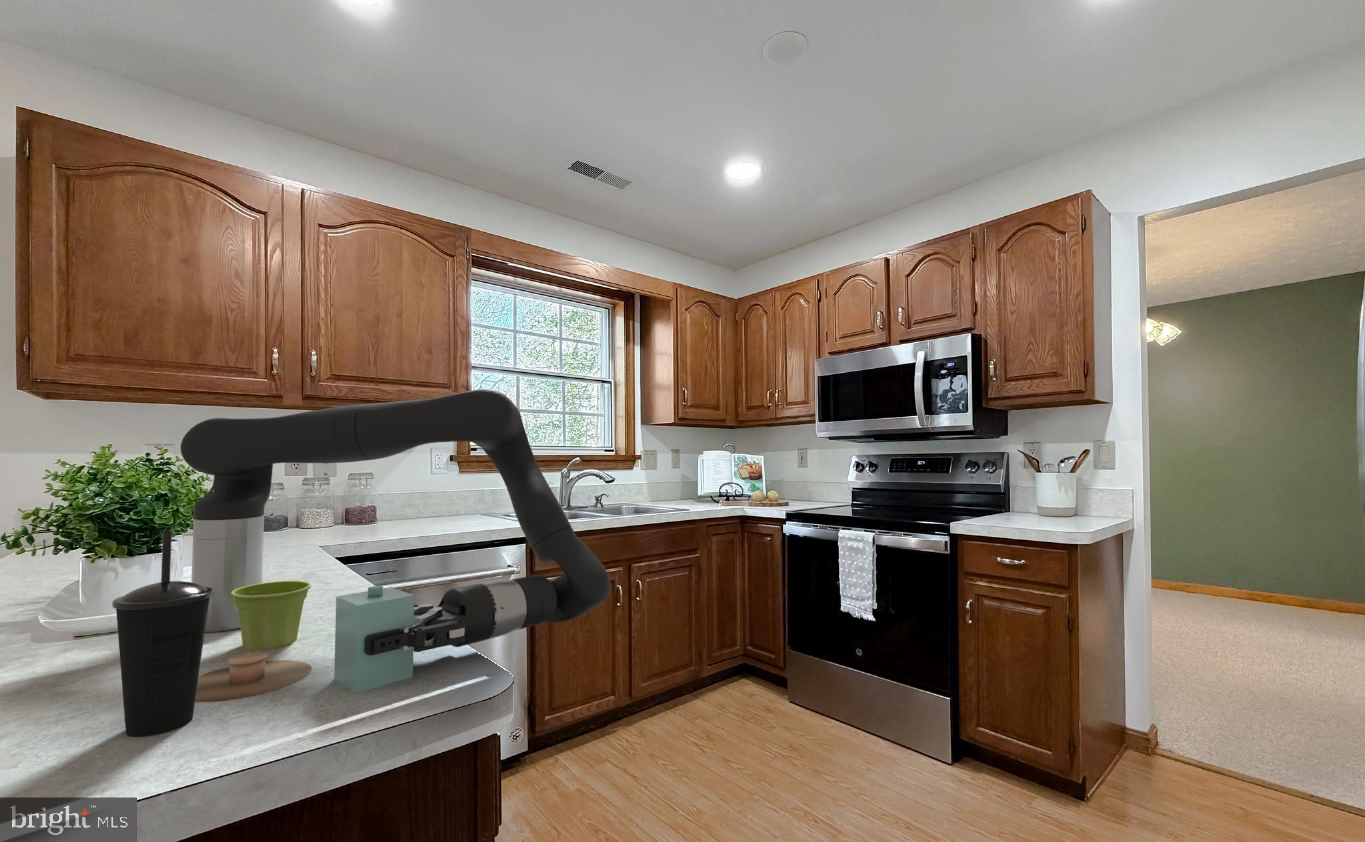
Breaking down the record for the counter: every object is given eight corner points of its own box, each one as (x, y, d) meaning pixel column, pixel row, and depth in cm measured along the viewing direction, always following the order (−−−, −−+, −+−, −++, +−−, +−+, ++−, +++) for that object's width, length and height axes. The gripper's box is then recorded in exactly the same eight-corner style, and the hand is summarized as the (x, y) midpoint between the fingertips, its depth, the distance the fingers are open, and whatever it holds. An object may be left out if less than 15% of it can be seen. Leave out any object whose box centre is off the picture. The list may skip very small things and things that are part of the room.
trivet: (165, 689, 71) (165, 680, 71) (291, 660, 81) (292, 653, 81) (188, 722, 63) (189, 712, 63) (327, 685, 72) (327, 676, 72)
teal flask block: (334, 682, 72) (336, 588, 72) (389, 667, 77) (391, 579, 77) (355, 696, 68) (357, 596, 68) (412, 680, 72) (414, 586, 73)
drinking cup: (197, 711, 65) (204, 523, 66) (218, 732, 60) (225, 529, 61) (99, 737, 59) (108, 531, 60) (114, 763, 54) (123, 538, 55)
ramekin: (223, 679, 72) (224, 657, 72) (261, 670, 75) (262, 650, 75) (231, 687, 69) (232, 665, 69) (270, 678, 72) (271, 656, 72)
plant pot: (324, 640, 90) (326, 581, 90) (276, 662, 80) (278, 596, 81) (265, 638, 91) (267, 580, 91) (211, 660, 81) (213, 594, 82)
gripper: (457, 576, 88) (331, 597, 75) (513, 591, 78) (380, 618, 66) (456, 629, 88) (329, 658, 75) (513, 650, 78) (378, 688, 66)
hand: (354, 639), depth 71 cm, fingers closed on teal flask block, 6 cm apart
